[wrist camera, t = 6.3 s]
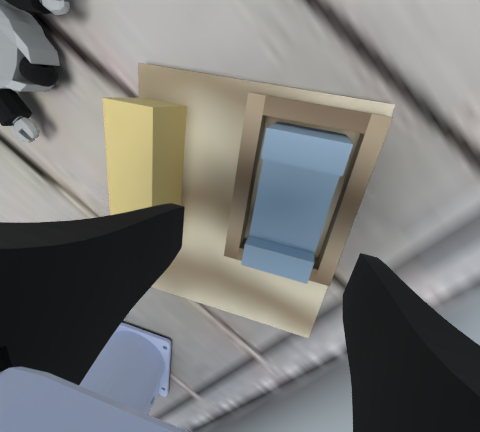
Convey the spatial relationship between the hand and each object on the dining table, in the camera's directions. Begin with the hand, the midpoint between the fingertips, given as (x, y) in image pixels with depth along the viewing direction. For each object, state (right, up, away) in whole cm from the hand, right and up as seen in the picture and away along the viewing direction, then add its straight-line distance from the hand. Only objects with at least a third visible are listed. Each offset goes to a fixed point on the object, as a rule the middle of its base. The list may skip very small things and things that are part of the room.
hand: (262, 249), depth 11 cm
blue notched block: (+3, +3, +7) cm, 8 cm away
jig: (-1, +2, +10) cm, 10 cm away
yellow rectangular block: (-7, +4, +9) cm, 12 cm away
